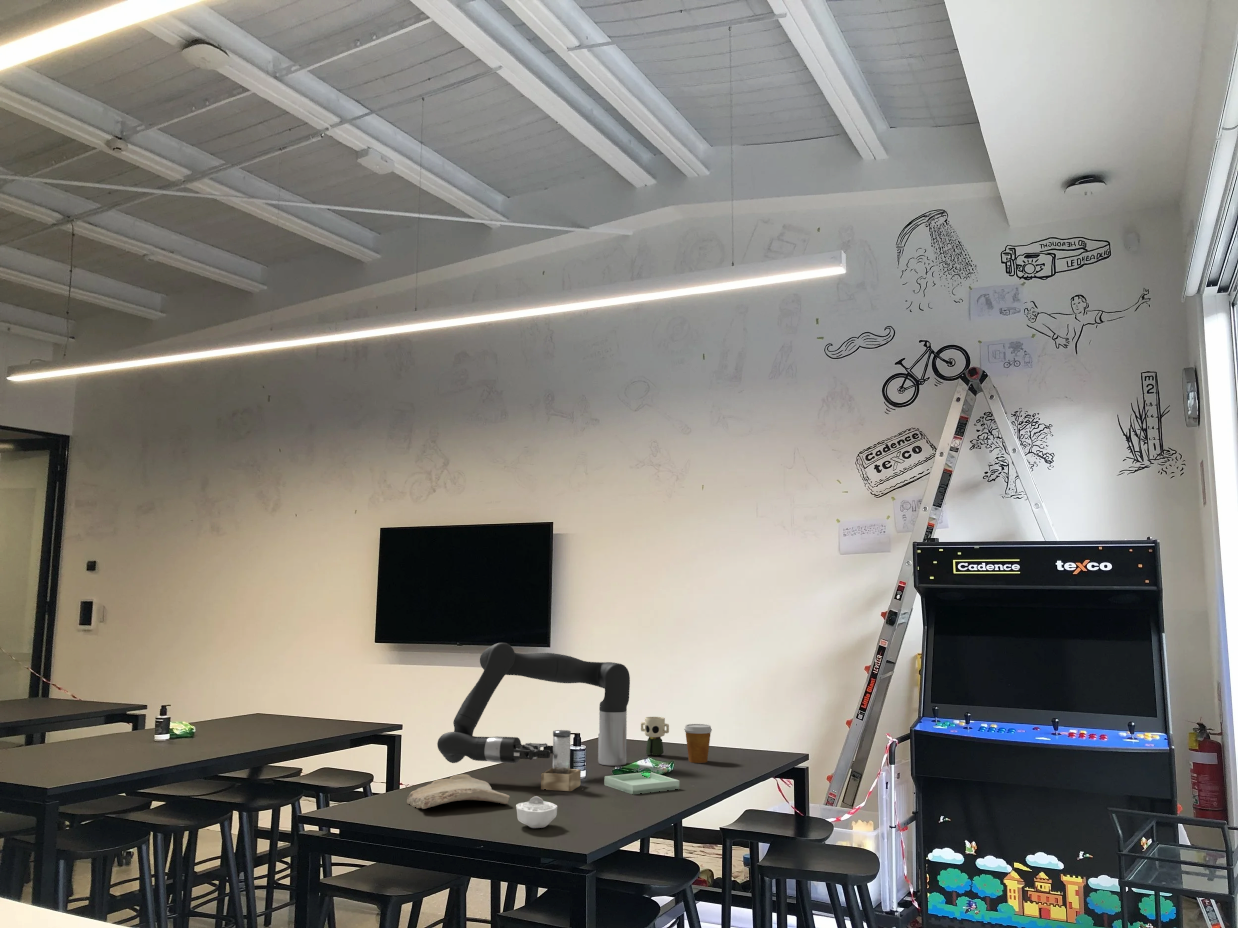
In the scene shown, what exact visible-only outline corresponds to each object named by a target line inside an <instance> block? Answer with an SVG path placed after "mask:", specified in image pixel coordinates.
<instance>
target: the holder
mask: <svg viewBox="0 0 1238 928" xmlns="http://www.w3.org/2000/svg"><path fill="white" fill-rule="evenodd" d="M581 773H582V771H581V769H575V768H570V774H555V773H553V767H550V768H549V769H546V770H545V771H543V772H541V774H540V775H541V776H540V777H541V778H540V790H544V789H546V791H564V792H572V791H574V790H575V789H577V788H579V787H580V786H581V778H582V777H581V776H582V775H581Z"/></svg>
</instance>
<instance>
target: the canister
mask: <svg viewBox="0 0 1238 928" xmlns="http://www.w3.org/2000/svg"><path fill="white" fill-rule="evenodd" d="M571 732H572V731H571V730H570V729H569V730H567V729H560V730H559V729H557V730H553V731H552V736H553V738H552V746H553V754H552V768H553V773H555V774H570V769H571V734H572V733H571Z"/></svg>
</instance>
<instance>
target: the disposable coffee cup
mask: <svg viewBox="0 0 1238 928" xmlns="http://www.w3.org/2000/svg"><path fill="white" fill-rule="evenodd" d="M683 731H684V732H685V738H686V739H685V740H686V747H687V748H686V749H687V755H688V762H690V763H693V764H705V763H708V760H709V759H708V757H709V752H710V751H709V749H710V742H711V733H712V731H713V730H712V726H711V725H710V724H704V723H689V724H685V726H684V728H683Z"/></svg>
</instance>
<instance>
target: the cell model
mask: <svg viewBox="0 0 1238 928" xmlns="http://www.w3.org/2000/svg"><path fill="white" fill-rule="evenodd" d="M515 808H516V817H517V821H518V822H520V823H522V825H523V824H524V825H526V826H528V827H529V828H531V829H540V828H541V829H542V828H545V827H547V826H548V825H550V824H551V823H552V821H553V820H554V819H556V817H557V816H558V815H557V814H558V805H557V804H555V803H553V802H549V801H545V800H543V798H542V797H539V796H537V795H536V796H535V795H534V796H533V797H531V798H530V799H529V800H528V801H525V802H524V801H522V802H519V803H517V804H516V805H515Z"/></svg>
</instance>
